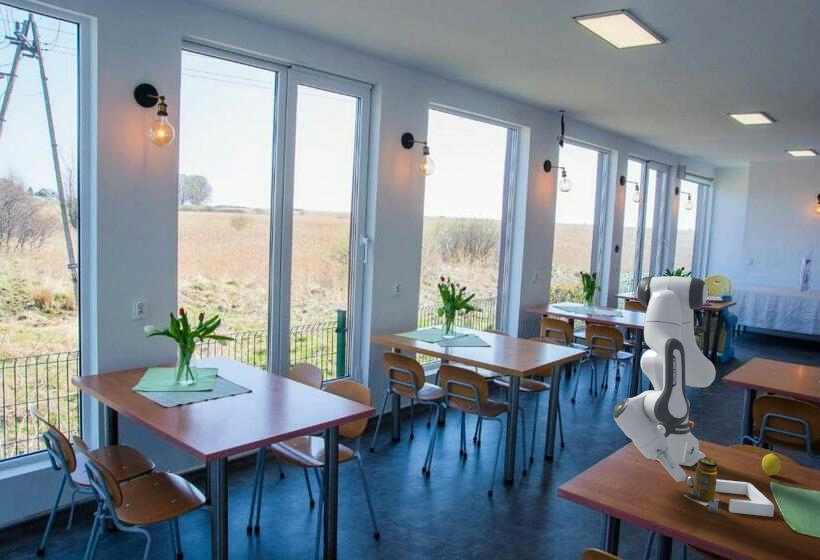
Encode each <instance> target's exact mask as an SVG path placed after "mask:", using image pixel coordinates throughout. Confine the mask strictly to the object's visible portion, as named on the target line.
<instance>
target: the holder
mask: <svg viewBox="0 0 820 560" xmlns="http://www.w3.org/2000/svg"><path fill="white" fill-rule="evenodd" d="M716 492H717V493H724V494H725V493H727V494H735V495H745V496H747V497H748V498H749V500H745V499H736V498H729V501H728V502H729V504H728V511H729V513H734V514H744V515H751V516H752V515H754V516H762V517H772V518H773V517H774V514H775V505H774V503H773V502H771V500H770V499H768V498H767V497H766V496H765V495H764V494H763V493H762V492H760V491H759V489H757V488H756V487H755V485H754V484H752V483H751V482H748V481H747V482H746V481H736V480H735V481H734V480H728V479H727V480H725V479H718V478H717V480H716V489H715V493H716Z"/></svg>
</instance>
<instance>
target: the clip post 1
mask: <svg viewBox="0 0 820 560" xmlns="http://www.w3.org/2000/svg"><path fill="white" fill-rule="evenodd" d="M694 481H695V475H694V476H693V475H687V482H686V483H687V484H686V485H687V487H689V488H692V489H694Z"/></svg>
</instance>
